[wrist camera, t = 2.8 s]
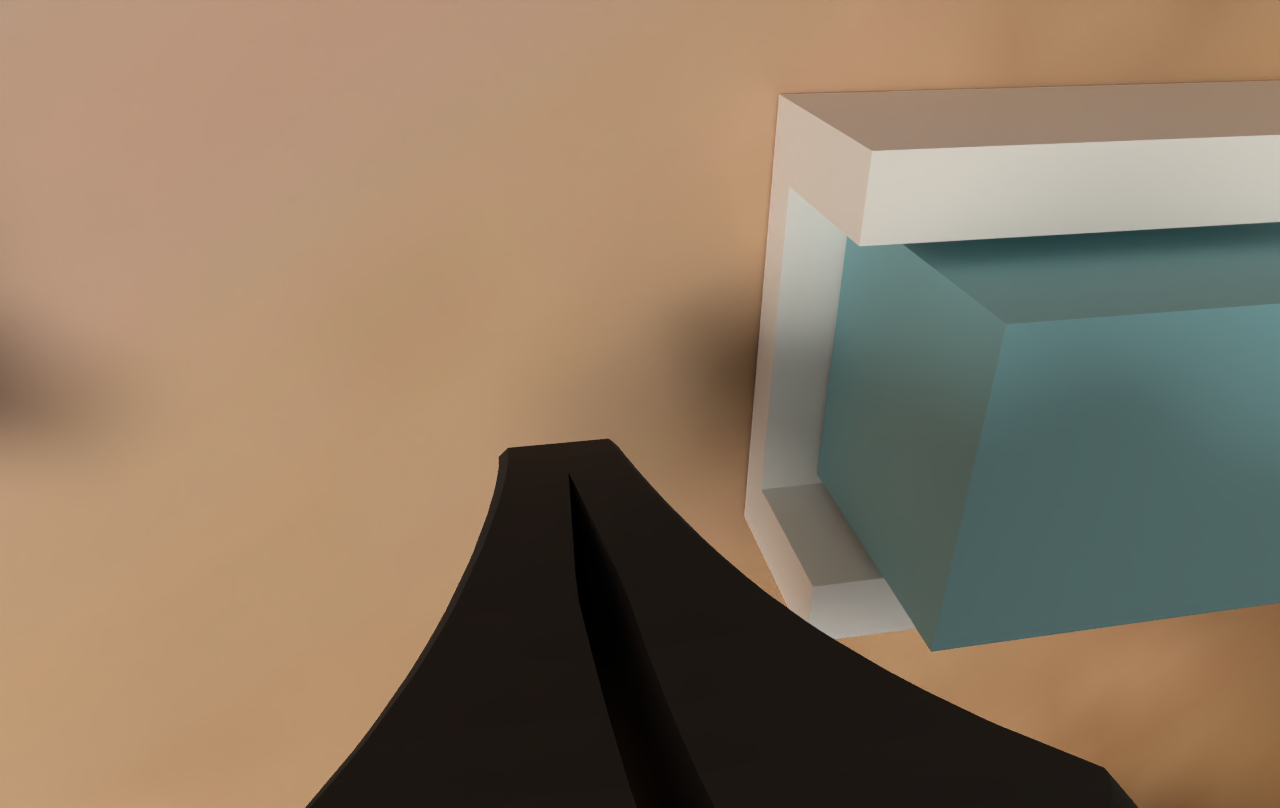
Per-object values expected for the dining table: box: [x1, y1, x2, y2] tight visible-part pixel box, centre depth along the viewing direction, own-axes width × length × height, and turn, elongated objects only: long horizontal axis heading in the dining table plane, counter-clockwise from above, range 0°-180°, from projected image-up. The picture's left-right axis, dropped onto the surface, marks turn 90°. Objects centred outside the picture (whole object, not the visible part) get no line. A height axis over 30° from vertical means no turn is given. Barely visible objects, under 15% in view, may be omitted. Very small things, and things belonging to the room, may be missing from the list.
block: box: [817, 222, 1280, 652], centre depth 14 cm, size 6×5×4 cm
